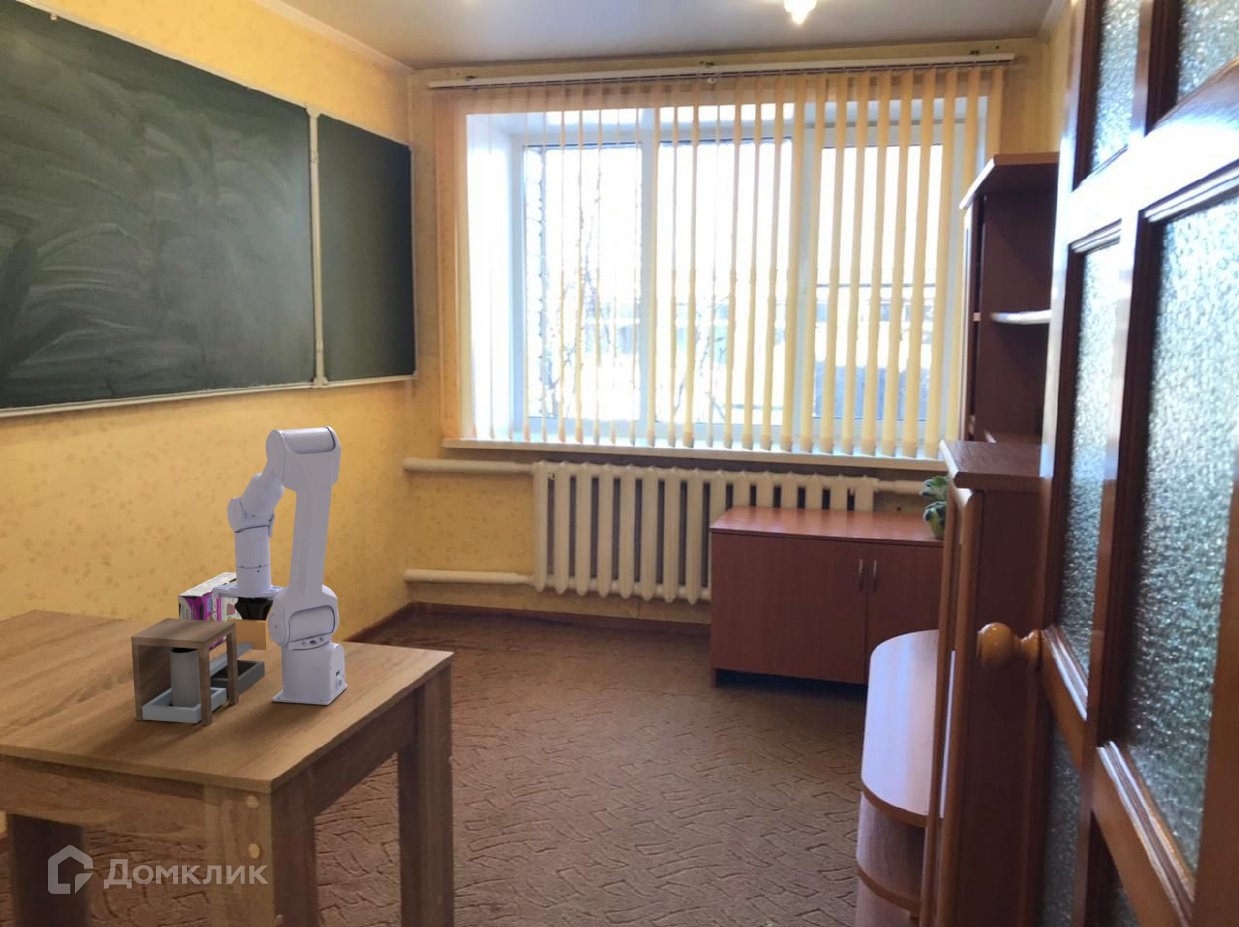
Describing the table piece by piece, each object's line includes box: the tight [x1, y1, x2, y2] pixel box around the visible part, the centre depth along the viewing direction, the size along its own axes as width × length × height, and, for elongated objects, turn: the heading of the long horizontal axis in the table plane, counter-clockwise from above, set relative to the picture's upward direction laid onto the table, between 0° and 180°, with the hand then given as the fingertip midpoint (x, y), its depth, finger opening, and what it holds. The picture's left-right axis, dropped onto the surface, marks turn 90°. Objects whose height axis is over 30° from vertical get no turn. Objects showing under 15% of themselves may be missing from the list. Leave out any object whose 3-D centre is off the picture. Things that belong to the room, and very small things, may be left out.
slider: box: [142, 619, 270, 724], centre depth 152 cm, size 9×24×8 cm, turn 173°
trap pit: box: [209, 657, 266, 696], centre depth 156 cm, size 9×9×2 cm
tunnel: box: [130, 617, 240, 726], centre depth 144 cm, size 12×9×13 cm
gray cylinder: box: [169, 647, 201, 708], centre depth 145 cm, size 4×4×10 cm
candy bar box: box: [177, 571, 242, 651], centre depth 177 cm, size 11×5×16 cm
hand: (256, 638), depth 166 cm, fingers closed, pressing on slider
